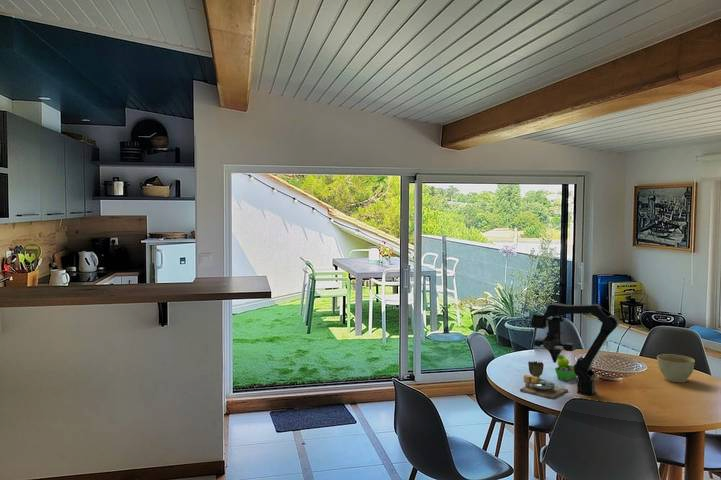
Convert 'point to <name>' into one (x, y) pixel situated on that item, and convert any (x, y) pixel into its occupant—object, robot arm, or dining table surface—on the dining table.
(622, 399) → the dining table surface
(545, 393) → the post board
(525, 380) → the dowel pin
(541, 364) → the cup
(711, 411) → the dining table surface
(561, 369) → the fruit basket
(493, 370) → the dining table surface
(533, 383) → the flange plate
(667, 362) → the planter bowl
